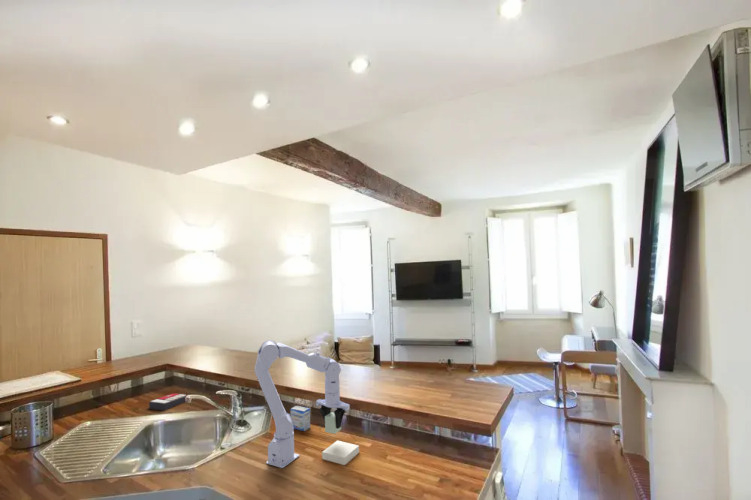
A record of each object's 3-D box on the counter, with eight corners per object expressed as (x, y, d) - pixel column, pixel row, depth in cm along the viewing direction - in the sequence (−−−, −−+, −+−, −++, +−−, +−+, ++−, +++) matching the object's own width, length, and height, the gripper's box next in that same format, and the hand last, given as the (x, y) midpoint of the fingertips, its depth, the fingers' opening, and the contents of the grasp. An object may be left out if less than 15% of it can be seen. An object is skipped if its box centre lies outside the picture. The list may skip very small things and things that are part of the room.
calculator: (188, 394, 203) (164, 402, 189) (187, 402, 203) (164, 411, 189) (173, 392, 207) (148, 400, 193) (172, 400, 206) (148, 409, 192)
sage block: (334, 434, 140) (334, 418, 140) (325, 431, 142) (324, 416, 142) (341, 429, 144) (340, 413, 144) (331, 427, 146) (331, 412, 146)
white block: (344, 466, 131) (344, 457, 131) (322, 460, 136) (322, 451, 136) (359, 453, 140) (358, 445, 140) (337, 448, 145) (337, 440, 145)
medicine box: (290, 428, 163) (290, 408, 164) (296, 424, 167) (296, 405, 167) (304, 431, 159) (303, 411, 160) (310, 427, 163) (310, 407, 164)
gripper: (353, 390, 144) (354, 425, 143) (323, 385, 150) (323, 419, 150) (343, 396, 138) (344, 432, 137) (312, 391, 144) (313, 426, 144)
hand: (333, 426), depth 143 cm, fingers closed on sage block, 4 cm apart
